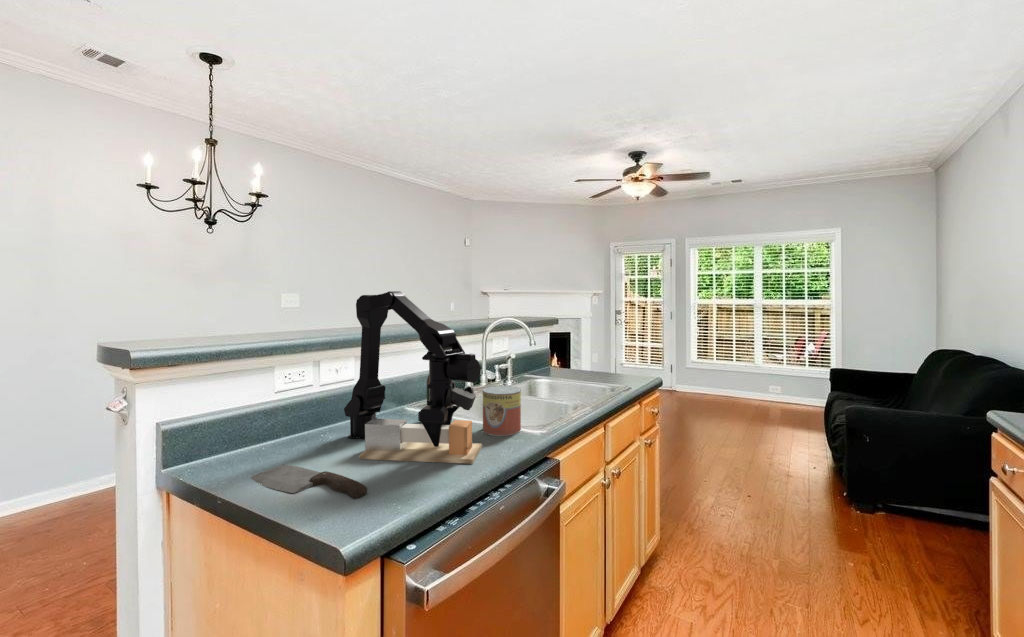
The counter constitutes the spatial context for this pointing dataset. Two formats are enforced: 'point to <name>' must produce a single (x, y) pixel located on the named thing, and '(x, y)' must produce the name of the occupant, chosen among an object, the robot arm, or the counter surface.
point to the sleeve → (384, 435)
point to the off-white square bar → (421, 434)
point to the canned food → (501, 410)
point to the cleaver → (307, 480)
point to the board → (424, 453)
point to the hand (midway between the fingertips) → (441, 440)
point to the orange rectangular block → (460, 437)
